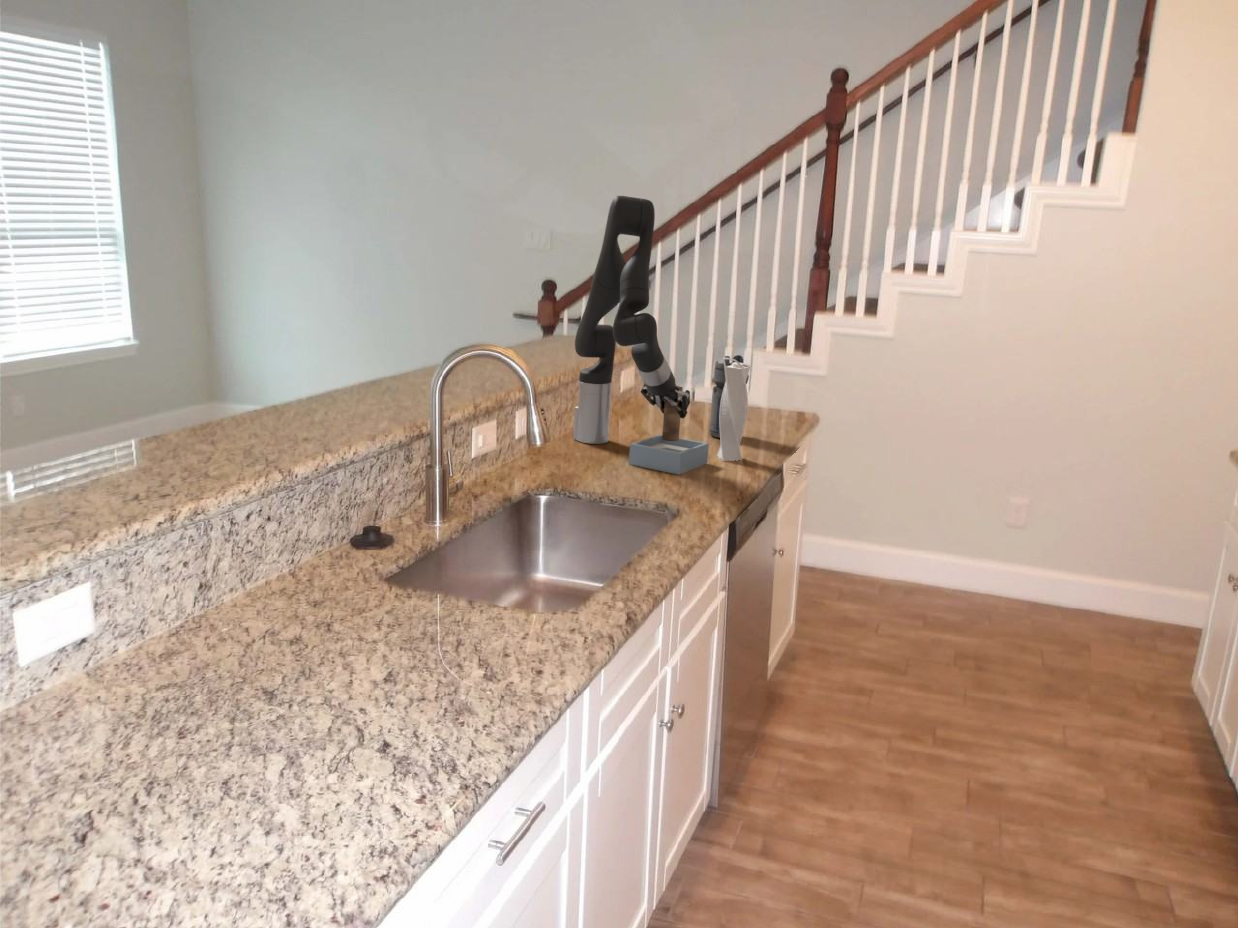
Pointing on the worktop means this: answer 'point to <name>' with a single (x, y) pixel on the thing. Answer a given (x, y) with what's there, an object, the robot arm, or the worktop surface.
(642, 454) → the box
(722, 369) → the dark tall piece
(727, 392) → the skyscraper
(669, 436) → the peg
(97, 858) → the worktop surface
